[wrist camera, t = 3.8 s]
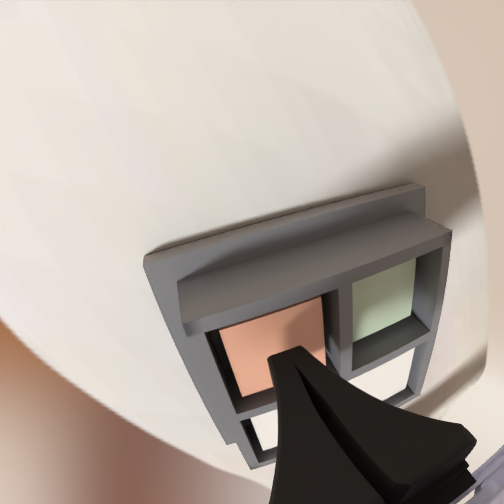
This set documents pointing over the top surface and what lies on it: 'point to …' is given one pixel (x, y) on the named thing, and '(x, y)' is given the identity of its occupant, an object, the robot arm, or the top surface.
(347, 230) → the grey compartment tray
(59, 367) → the top surface
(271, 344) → the terracotta key
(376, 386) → the space bar
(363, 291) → the green key
